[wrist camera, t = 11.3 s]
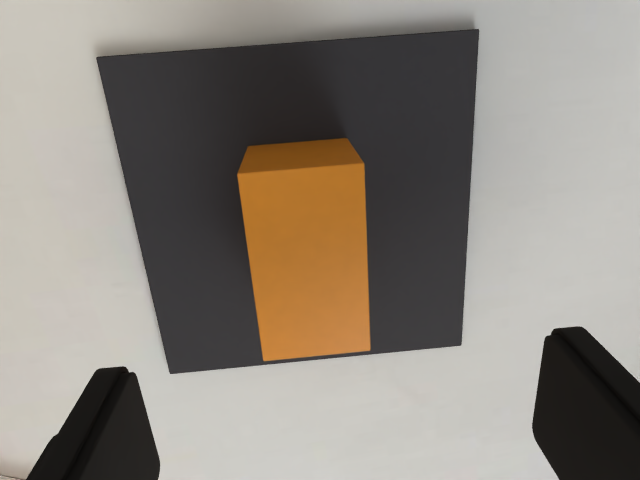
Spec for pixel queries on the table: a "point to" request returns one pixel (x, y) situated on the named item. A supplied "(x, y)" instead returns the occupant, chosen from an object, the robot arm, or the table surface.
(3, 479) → the tray
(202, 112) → the mat
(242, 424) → the table surface
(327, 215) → the block
